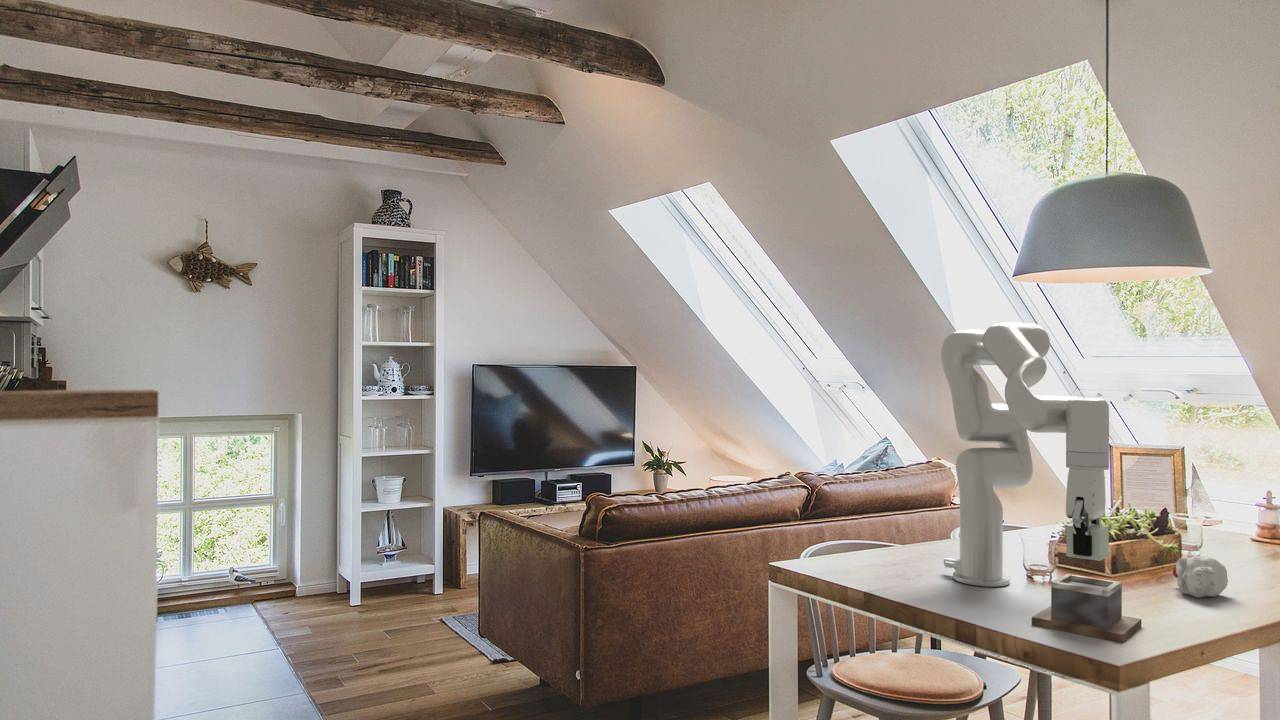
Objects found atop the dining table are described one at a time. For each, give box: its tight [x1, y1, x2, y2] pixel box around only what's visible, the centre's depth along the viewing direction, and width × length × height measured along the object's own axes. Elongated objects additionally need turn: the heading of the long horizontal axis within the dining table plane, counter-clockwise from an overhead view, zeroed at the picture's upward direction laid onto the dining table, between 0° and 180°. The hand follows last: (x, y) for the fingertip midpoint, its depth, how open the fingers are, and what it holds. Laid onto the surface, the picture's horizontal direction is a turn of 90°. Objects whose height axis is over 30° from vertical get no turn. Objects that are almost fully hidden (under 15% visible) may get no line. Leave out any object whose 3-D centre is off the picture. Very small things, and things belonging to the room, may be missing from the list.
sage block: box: [1065, 523, 1110, 562], centre depth 168 cm, size 6×6×6 cm
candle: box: [1172, 555, 1229, 599], centre depth 195 cm, size 9×11×15 cm
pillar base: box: [1031, 573, 1142, 644], centre depth 168 cm, size 16×14×8 cm
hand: (1087, 552), depth 168 cm, fingers closed on sage block, 6 cm apart
